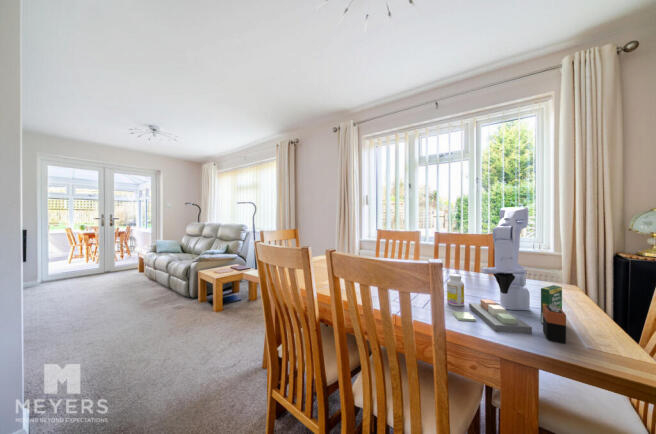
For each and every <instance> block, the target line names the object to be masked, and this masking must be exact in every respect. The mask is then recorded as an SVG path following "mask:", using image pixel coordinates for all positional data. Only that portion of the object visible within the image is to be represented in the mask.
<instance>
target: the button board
mask: <svg viewBox="0 0 656 434" xmlns="http://www.w3.org/2000/svg"><path fill="white" fill-rule="evenodd" d="M468 308H469V309H470V310H471V311H472V312H473V313H474V314H475V315H477V317H478V318H480V319H481V320H482V321H483V322H485V323H486V324H487V325H488V326H489V327H490V328H491V329H492V330H494V331H495V332H503V333H505V332H506V333H517V334H518V333H522V334H523V333H524V334H532V333H533V327H532V326H530V325H529V324H528V323H526V322H524V321H523V320H522V319H520V318H519V317H518V316H516V315H514V314H512V313H511V312H510V311H508V309H506V314H510V315H511V316H513V317H514V318H516V324H503V323H501V322H500V321H499V320H498V319H497V316H492V315H491V314H490V313H489V312H488V310H485V309H483V308H482V307H481V303H473V302H472V303H471V302H469V303H468Z"/></svg>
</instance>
